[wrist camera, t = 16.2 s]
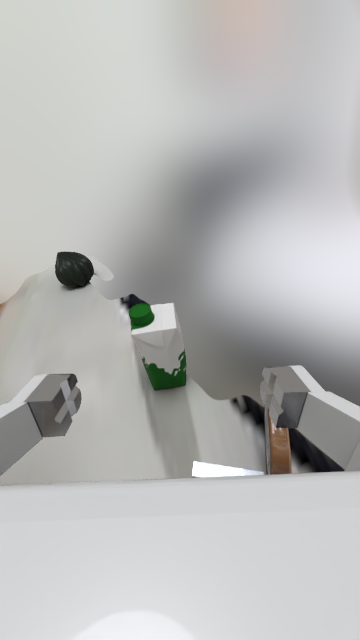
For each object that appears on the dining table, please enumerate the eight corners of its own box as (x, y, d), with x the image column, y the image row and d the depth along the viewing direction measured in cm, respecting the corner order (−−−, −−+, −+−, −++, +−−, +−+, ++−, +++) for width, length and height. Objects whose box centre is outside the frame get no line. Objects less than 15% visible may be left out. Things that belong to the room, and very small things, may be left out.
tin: (285, 497, 31) (299, 482, 26) (262, 491, 32) (271, 475, 27) (277, 402, 42) (286, 378, 37) (260, 399, 43) (266, 375, 37)
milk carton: (150, 363, 53) (128, 298, 41) (185, 357, 53) (175, 291, 41) (150, 394, 47) (123, 328, 34) (190, 388, 47) (179, 320, 34)
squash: (104, 264, 91) (75, 238, 87) (81, 283, 81) (47, 255, 77) (94, 281, 101) (67, 258, 97) (72, 300, 91) (41, 275, 87)
